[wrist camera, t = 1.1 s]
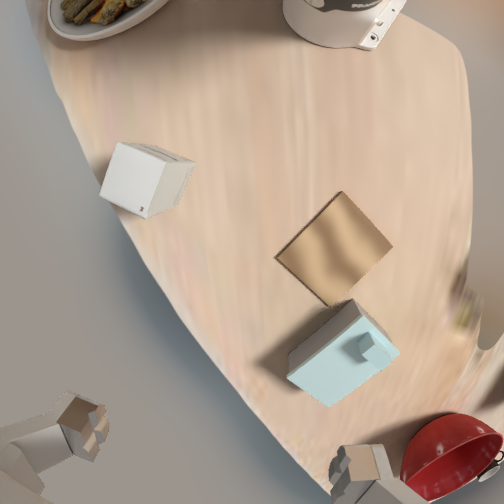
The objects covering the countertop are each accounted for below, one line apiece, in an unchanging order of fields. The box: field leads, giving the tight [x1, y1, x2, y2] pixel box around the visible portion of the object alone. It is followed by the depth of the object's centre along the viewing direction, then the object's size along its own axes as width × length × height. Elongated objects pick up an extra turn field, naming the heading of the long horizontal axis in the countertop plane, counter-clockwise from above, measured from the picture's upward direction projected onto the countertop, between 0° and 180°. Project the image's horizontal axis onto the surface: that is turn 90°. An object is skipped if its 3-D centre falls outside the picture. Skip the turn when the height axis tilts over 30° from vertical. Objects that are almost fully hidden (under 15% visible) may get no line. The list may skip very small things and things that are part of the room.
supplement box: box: [99, 142, 196, 219], centre depth 38 cm, size 7×7×13 cm
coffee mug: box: [477, 451, 504, 482], centre depth 56 cm, size 12×9×10 cm
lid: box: [287, 314, 400, 408], centre depth 42 cm, size 16×11×4 cm
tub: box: [288, 299, 393, 373], centre depth 47 cm, size 15×10×6 cm, turn 138°
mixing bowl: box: [400, 414, 503, 502], centre depth 49 cm, size 28×28×15 cm
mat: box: [277, 191, 393, 307], centre depth 45 cm, size 14×12×1 cm
